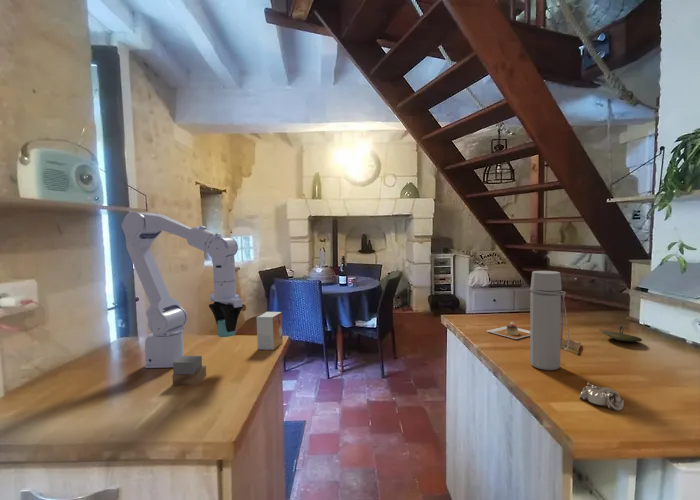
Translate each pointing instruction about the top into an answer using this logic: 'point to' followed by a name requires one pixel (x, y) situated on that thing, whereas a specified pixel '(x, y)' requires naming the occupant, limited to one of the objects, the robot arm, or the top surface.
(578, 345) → the shard
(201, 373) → the base block
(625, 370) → the top surface
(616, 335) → the lid
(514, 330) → the dessert
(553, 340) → the water bottle
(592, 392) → the ornament
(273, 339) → the small box
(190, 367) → the top block
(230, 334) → the teal rounded piece
